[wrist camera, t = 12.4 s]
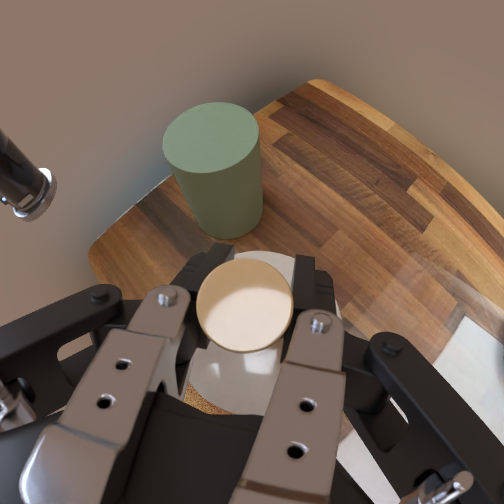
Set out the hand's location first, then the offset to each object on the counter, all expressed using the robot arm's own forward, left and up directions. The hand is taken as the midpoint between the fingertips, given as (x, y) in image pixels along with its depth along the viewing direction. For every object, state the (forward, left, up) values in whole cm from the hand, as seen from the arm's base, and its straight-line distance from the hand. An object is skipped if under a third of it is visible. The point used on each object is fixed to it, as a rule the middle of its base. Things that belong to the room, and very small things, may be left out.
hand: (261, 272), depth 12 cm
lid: (0, -2, -4) cm, 4 cm away
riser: (-3, +18, -27) cm, 33 cm away
